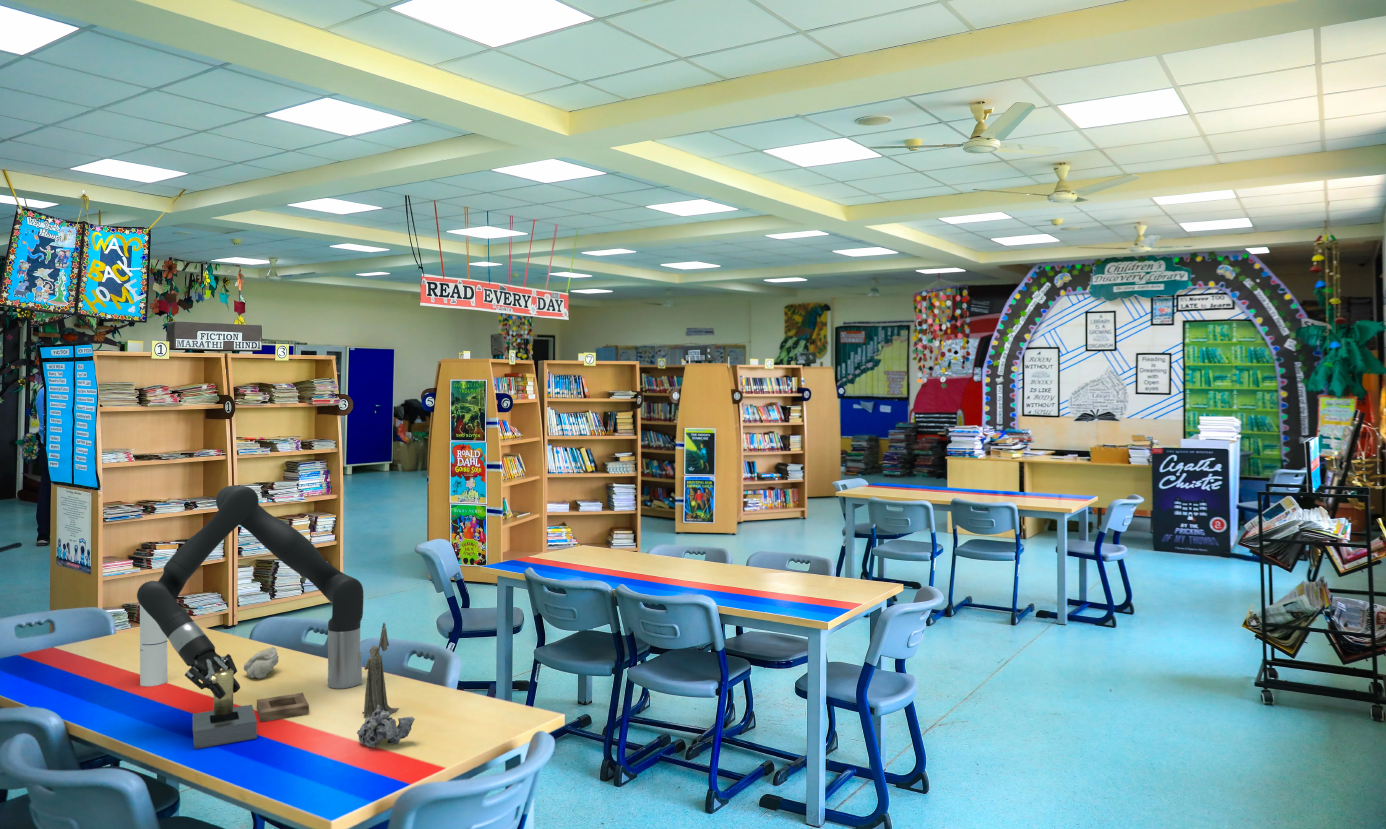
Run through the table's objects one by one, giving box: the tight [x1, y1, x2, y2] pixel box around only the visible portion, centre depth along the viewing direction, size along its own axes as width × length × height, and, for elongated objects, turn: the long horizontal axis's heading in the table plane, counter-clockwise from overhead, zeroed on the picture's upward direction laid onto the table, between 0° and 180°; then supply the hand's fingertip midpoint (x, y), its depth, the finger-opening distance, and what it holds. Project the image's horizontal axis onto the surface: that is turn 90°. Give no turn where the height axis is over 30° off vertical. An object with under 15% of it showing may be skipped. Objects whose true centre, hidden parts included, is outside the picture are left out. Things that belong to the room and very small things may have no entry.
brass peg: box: [213, 669, 234, 715], centre depth 230 cm, size 4×4×10 cm
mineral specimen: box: [356, 705, 416, 748], centre depth 225 cm, size 13×10×11 cm
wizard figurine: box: [362, 622, 400, 719], centre depth 247 cm, size 10×8×25 cm
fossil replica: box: [243, 646, 279, 680], centre depth 278 cm, size 12×8×10 cm
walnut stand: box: [256, 692, 310, 723], centre depth 247 cm, size 12×12×2 cm
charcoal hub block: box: [192, 704, 258, 750], centre depth 230 cm, size 14×14×4 cm
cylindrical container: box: [139, 604, 168, 687], centre depth 270 cm, size 7×7×25 cm
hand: (230, 693), depth 229 cm, fingers closed on brass peg, 4 cm apart
